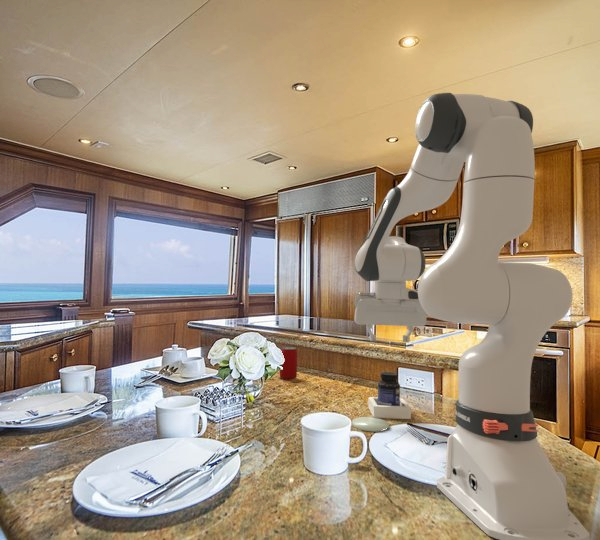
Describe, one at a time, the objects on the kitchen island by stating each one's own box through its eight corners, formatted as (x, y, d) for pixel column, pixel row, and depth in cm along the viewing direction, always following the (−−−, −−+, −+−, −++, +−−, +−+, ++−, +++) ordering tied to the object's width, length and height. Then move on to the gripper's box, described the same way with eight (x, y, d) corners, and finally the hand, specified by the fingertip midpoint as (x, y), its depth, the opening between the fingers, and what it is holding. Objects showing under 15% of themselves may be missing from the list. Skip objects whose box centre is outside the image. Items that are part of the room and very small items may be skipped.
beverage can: (289, 376, 158) (290, 346, 159) (300, 379, 153) (301, 348, 153) (276, 378, 154) (277, 347, 154) (286, 381, 148) (287, 349, 149)
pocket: (410, 419, 105) (411, 407, 105) (373, 417, 105) (373, 406, 106) (402, 408, 115) (402, 398, 115) (368, 407, 115) (368, 396, 116)
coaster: (391, 432, 94) (391, 429, 94) (354, 431, 94) (354, 427, 94) (384, 420, 103) (384, 417, 103) (350, 419, 103) (350, 416, 103)
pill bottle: (400, 417, 107) (400, 376, 107) (377, 415, 108) (378, 374, 109) (399, 410, 113) (399, 372, 113) (377, 409, 114) (378, 370, 115)
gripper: (355, 291, 110) (354, 341, 109) (428, 294, 109) (428, 343, 108) (353, 292, 116) (351, 338, 115) (422, 294, 116) (421, 341, 115)
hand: (389, 341), depth 112 cm, fingers open, 8 cm apart
